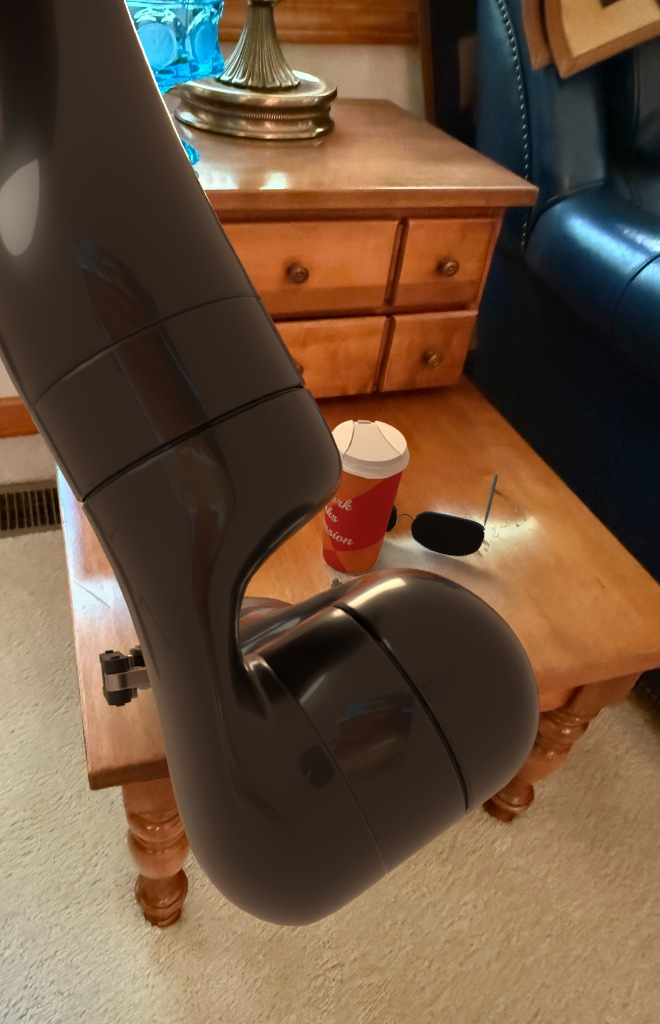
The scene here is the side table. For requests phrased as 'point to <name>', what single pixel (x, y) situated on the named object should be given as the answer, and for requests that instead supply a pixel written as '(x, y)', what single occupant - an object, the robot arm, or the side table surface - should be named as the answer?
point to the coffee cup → (363, 494)
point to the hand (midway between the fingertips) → (208, 649)
